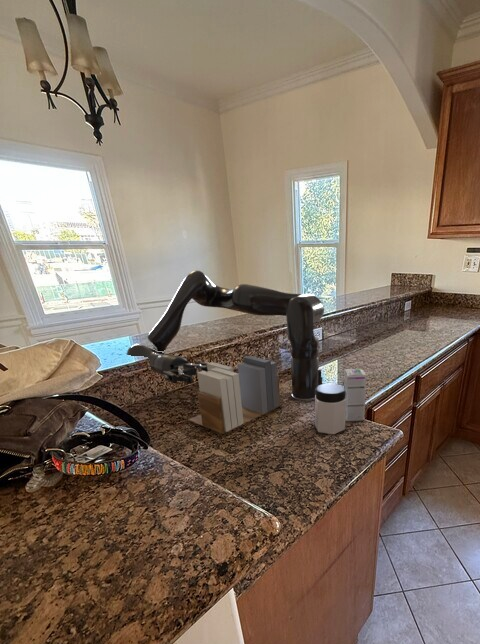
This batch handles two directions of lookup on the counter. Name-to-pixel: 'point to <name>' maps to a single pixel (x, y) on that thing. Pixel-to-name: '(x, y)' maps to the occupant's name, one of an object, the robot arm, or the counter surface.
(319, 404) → the jar
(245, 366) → the grey books
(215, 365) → the thin white book
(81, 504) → the counter surface
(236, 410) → the white books
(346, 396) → the syrup box
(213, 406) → the book rack
